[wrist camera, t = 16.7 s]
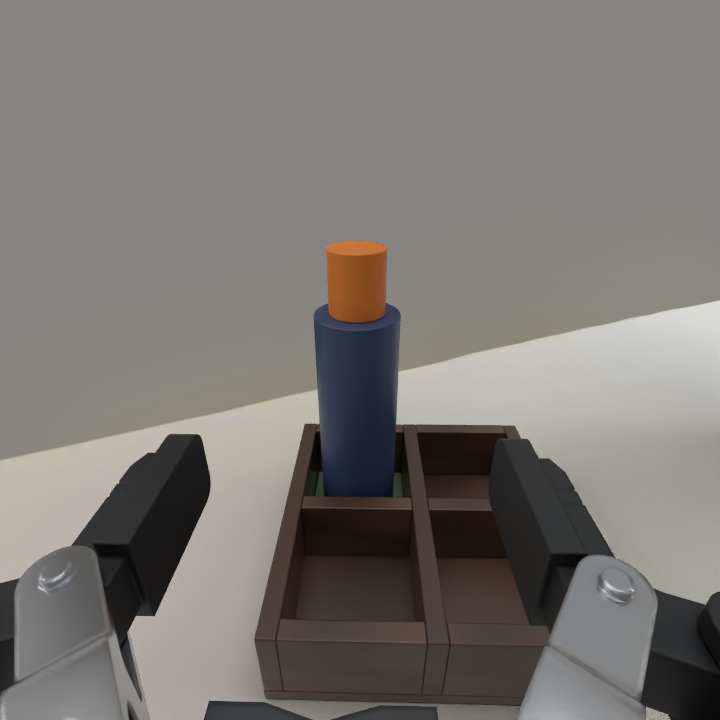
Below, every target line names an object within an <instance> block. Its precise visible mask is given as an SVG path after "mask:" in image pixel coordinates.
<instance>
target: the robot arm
mask: <svg viewBox="0 0 720 720" xmlns="http://www.w3.org/2000/svg"><path fill="white" fill-rule="evenodd" d="M574 489H575V488H574V487H573V485H572V483H571V482H570V480H569V478H568V476H567V475H566V473H565V472H564V471H563V470H562V469H561V468H559V467H558V466H557V465H556V464H555V463H554V462H552V461H551V460H550V459H539V458H538V456H537V454H536V453H535V451H534V449H533V447H532V445H531V443H530V441H529V440H527V439H498V440H497V441H496V444H495V449H494V455H493V461H492V466H491V472H490V478H489V486H488V491H489V501H490V505H491V509H492V512H493V515H494V518H495V521H496V524H497V527H498V530H499V533H500V536H501V539H502V542H503V545H504V548H505V551H506V555H507V558H508V561H509V564H510V567H511V570H512V573H513V576H514V579H515V582H516V585H517V588H518V591H519V594H520V597H521V600H522V604H523V607H524V610H525V613H526V616H527V619H528V622H529V625H530V626H547V628H548V631H549V634H550V637H549V639H548V641H547V642H546V644H545V647H544V649H543V651H542V654H541V656H540V659H539V661H538V664H537V667H536V669H535V672H534V674H533V677H532V679H531V682H530V684H529V687H528V689H527V692H526V695H525V697H524V700H523V702H522V705H521V707H520V710H519V712H518V715H517V718H516V720H645V718H646V706H647V707H649V708H652V709H655V710H657V711H660V712H663V713H665V714H668V715H669V717H670V719H671V720H720V592H717V593H715V594H713V595H712V596H711V597H710V599H709V600H708V602H707V604H706V605H704V604H700V603H697V602H694V601H690V600H687V599H683V598H680V597H677V596H673V595H670V594H666V593H663V592H660V591H658V590H655V589H653V588H652V586H651V584H650V583H649V582H648V580H647V579H646V578H645V577H644V576H643V575H642V574H641V573H640V572H638V571H637V570H636V569H635V568H633V567H632V566H630V565H629V564H627V563H625V562H623V561H621V560H619V559H616V558H615V557H614V555H613V553H612V552H611V550H610V548H609V546H608V545H607V543H606V541H605V540H604V538H603V536H602V534H601V533H600V531H599V529H598V528H597V526H596V524H595V522H594V521H593V519H592V517H591V516H590V514H589V512H588V511H587V509H586V507H585V505H583V504H582V500H581V499H580V497H579V495H578V493H577V492H575V490H574ZM209 493H210V474H209V470H208V465H207V460H206V456H205V451H204V446H203V442H202V439H201V437H200V435H198V434H170V435H168V436H167V437H166V438H165V440H164V441H163V443H162V444H161V446H160V447H159V449H158V450H157V451H156V453H147V454H146V455H145V456H143V457H142V458H141V459H139V460H138V461H137V462H135V463H134V464H133V465H131V466H130V468H129V469H128V470H127V472H126V473H125V474H124V476H123V477H122V478H121V480H120V483H119V484H117V485H116V486H115V488H114V489H113V490H112V492H111V493H110V497H107V498H106V500H105V501H104V503H103V504H102V505H101V507H100V508H99V509H98V511H97V512H96V513H95V515H94V516H93V517H92V519H91V520H90V521H89V523H88V524H87V525H86V527H85V528H84V529H83V531H82V532H81V533H80V535H79V536H78V537H77V539H76V540H75V541H74V543H73V544H72V545H71V546H70V547H65V548H62V549H59V550H56V551H54V552H52V553H50V554H48V555H46V556H44V557H43V558H41V559H40V560H38V561H37V562H35V563H34V564H33V565H32V566H31V567H30V568H29V569H28V570H27V571H26V572H25V573H24V574H23V575H22V577H21V578H19V579H16V580H12V581H8V582H4V583H0V720H150V717H149V713H148V709H147V705H146V701H145V697H144V692H143V688H142V684H141V679H140V675H139V671H138V667H137V662H136V658H135V654H134V650H133V645H132V641H131V637H130V634H129V632H128V630H129V628H130V626H131V624H132V622H133V620H134V618H135V616H155V614H156V612H157V610H158V607H159V605H160V603H161V601H162V599H163V597H164V594H165V592H166V590H167V588H168V586H169V583H170V581H171V579H172V577H173V575H174V573H175V570H176V568H177V566H178V564H179V562H180V559H181V557H182V555H183V553H184V551H185V549H186V546H187V544H188V542H189V540H190V538H191V535H192V533H193V531H194V529H195V527H196V524H197V522H198V520H199V518H200V516H201V514H202V511H203V509H204V507H205V505H206V503H207V500H208V497H209ZM204 720H312V719H309V718H306V717H303V716H301V715H298V714H295V713H292V712H290V711H287V710H284V709H281V708H279V707H276V706H273V705H270V704H268V703H265V702H230V701H209V704H208V707H207V711H206V714H205V717H204ZM332 720H438V714H437V707H421V706H383V705H380V706H377V707H373V708H370V709H366V710H363V711H359V712H356V713H353V714H349V715H346V716H342V717H339V718H335V719H332Z"/></svg>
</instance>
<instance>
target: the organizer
mask: <svg viewBox="0 0 720 720" xmlns="http://www.w3.org/2000/svg"><path fill="white" fill-rule="evenodd" d="M498 439H521V437H520V435H519V433H518V431H517V429H516V427H515V426H501V425H396V437H395V461H394V485H393V497H327V496H324V488H323V470H322V453H321V436H320V424H318V425H317V424H305V426H304V430H303V434H302V438H301V443H300V447H299V451H298V455H297V460H296V464H295V468H294V472H293V477H292V481H291V485H290V489H289V494H288V498H287V502H286V506H285V511H284V515H283V519H282V523H281V528H280V532H279V536H278V540H277V545H276V549H275V553H274V557H273V562H272V566H271V570H270V574H269V579H268V583H267V587H266V591H265V596H264V600H263V604H262V608H261V613H260V617H259V621H258V625H257V630H256V634H255V638H254V640H255V646H256V651H257V656H258V661H259V666H260V671H261V676H262V681H263V686H264V693H265V698H266V699H302V700H342V701H381V702H421V703H461V704H500V705H522V702H523V700H524V697H525V695H526V692H527V689H528V687H529V684H530V682H531V679H532V677H533V674H534V672H535V669H536V667H537V664H538V661H539V659H540V656H541V654H542V651H543V649H544V647H545V644H546V642H547V641H548V639H549V637H550V634H549V631H548V628H547V626H530V625H529V622H528V619H527V616H526V613H525V610H524V607H523V604H522V600H521V597H520V594H519V591H518V588H517V585H516V582H515V579H514V576H513V573H512V570H511V567H510V564H509V561H508V558H507V555H506V551H505V548H504V545H503V542H502V539H501V536H500V533H499V530H498V527H497V524H496V521H495V518H494V515H493V512H492V509H491V505H490V501H489V491H488V486H489V478H490V472H491V466H492V461H493V455H494V449H495V444H496V441H497V440H498Z"/></svg>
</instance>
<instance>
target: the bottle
mask: <svg viewBox="0 0 720 720" xmlns="http://www.w3.org/2000/svg"><path fill="white" fill-rule="evenodd" d="M326 253H327V277H328V278H327V279H328V304H326V305H323V306H321V307H320V308H318V309H317V310H316V311H315V313H314V331H315V347H316V365H317V382H318V401H319V418H320V436H321V453H322V470H323V488H324V496H327V497H393V485H394V461H395V437H396V413H397V389H398V364H399V340H400V317H401V316H400V312H399V310H398V309H396V308H395V307H394V306H392V305H389V304H387V303H386V266H387V263H386V262H387V248H386V247H385V246H384V245H382V244H379V243H373V242H364V241H353V242H352V241H351V242H342V243H336V244H332V245H330V246H328V247H327V249H326Z"/></svg>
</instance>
